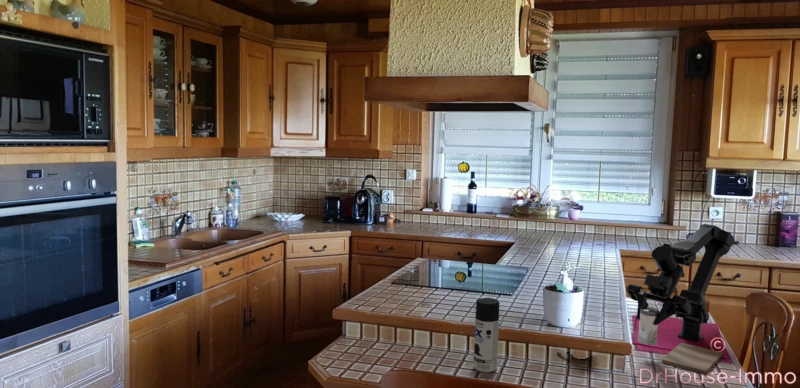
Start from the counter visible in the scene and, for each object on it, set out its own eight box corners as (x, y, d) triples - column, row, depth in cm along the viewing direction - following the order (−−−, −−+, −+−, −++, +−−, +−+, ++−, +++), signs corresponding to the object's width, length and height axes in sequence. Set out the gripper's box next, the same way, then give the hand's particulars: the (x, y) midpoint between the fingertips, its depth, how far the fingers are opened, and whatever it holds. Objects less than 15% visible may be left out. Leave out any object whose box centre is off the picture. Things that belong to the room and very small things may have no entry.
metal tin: (641, 337, 188) (643, 305, 187) (659, 341, 184) (661, 309, 183) (634, 341, 184) (637, 310, 183) (653, 346, 180) (655, 314, 179)
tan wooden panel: (680, 345, 194) (681, 342, 194) (722, 356, 187) (722, 352, 186) (661, 362, 181) (662, 359, 181) (705, 374, 173) (705, 371, 173)
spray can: (469, 365, 176) (471, 298, 173) (489, 361, 179) (491, 296, 176) (480, 374, 170) (483, 305, 167) (501, 371, 173) (504, 303, 170)
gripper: (631, 258, 191) (609, 298, 185) (690, 271, 176) (668, 315, 171) (642, 278, 197) (621, 318, 191) (701, 293, 182) (679, 336, 177)
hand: (646, 321), depth 182 cm, fingers closed on metal tin, 5 cm apart
